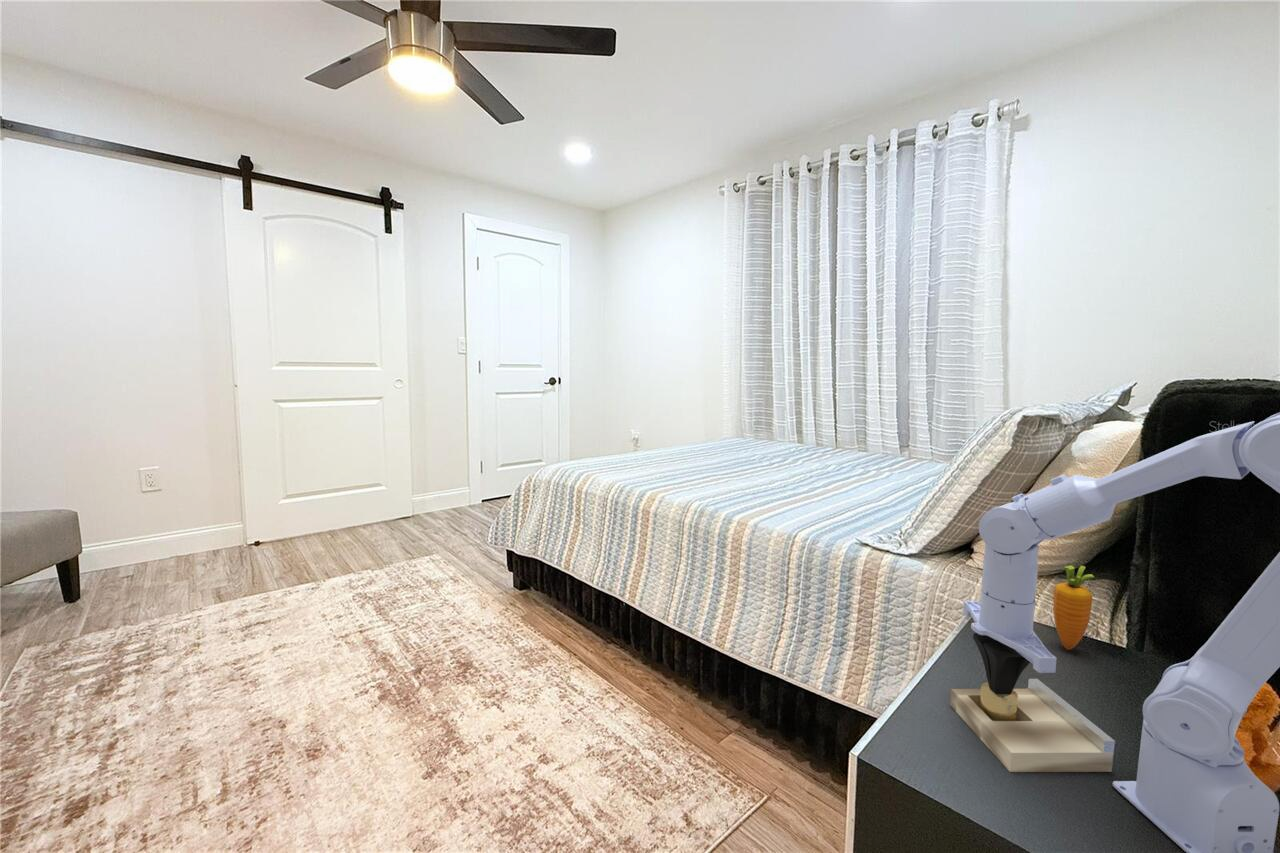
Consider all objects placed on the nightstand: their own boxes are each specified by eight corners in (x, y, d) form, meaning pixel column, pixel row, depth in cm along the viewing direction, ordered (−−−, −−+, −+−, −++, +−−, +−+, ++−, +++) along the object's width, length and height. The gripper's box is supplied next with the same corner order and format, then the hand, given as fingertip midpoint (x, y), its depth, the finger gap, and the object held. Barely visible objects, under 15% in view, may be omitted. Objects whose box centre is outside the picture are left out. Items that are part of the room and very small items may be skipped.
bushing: (1022, 735, 67) (1025, 699, 66) (992, 736, 67) (995, 700, 66) (1000, 714, 71) (1002, 680, 70) (972, 715, 71) (974, 681, 70)
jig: (1111, 771, 61) (1115, 740, 60) (1009, 772, 61) (1012, 741, 60) (1035, 704, 73) (1037, 678, 72) (950, 705, 73) (951, 679, 72)
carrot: (1072, 642, 88) (1080, 559, 87) (1095, 658, 84) (1103, 571, 82) (1042, 641, 89) (1048, 558, 87) (1062, 657, 84) (1070, 570, 82)
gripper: (944, 572, 74) (939, 660, 75) (1017, 622, 59) (1008, 730, 61) (993, 571, 74) (987, 659, 75) (1078, 622, 59) (1067, 729, 61)
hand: (1000, 691), depth 68 cm, fingers closed, pressing on bushing
